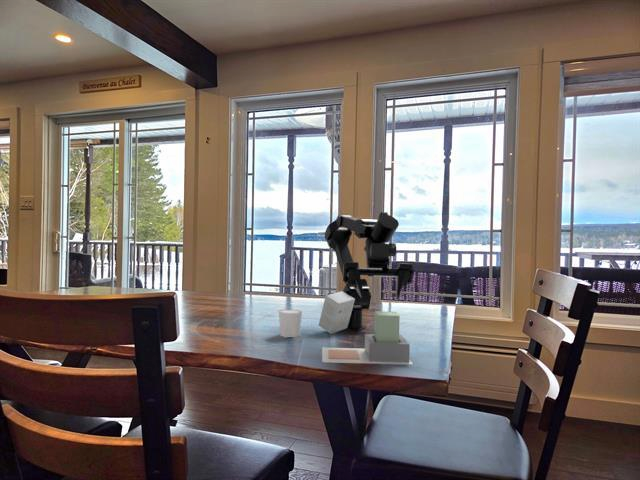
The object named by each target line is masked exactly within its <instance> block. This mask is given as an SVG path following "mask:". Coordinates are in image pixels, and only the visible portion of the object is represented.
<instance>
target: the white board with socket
mask: <svg viewBox="0 0 640 480" xmlns="http://www.w3.org/2000/svg"><path fill="white" fill-rule="evenodd" d="M410 348H411V346H410V343H409V342H408V341H407V339H406V338H405V337H404V336H403V335H402V334H399V342H375V340H374V333H365V334H364V348H359V347H358V348H355V347H353V348H352V347H351V348H350V347H323V346H322V347H321V349H322V351H321V362H322V363H333V364H334V363H335V364H336V363H337V364H339V363H341V364H376V365H377V364H379V365H406V366H407V365H414V364H413V362H412V360H411V359H410Z"/></svg>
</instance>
